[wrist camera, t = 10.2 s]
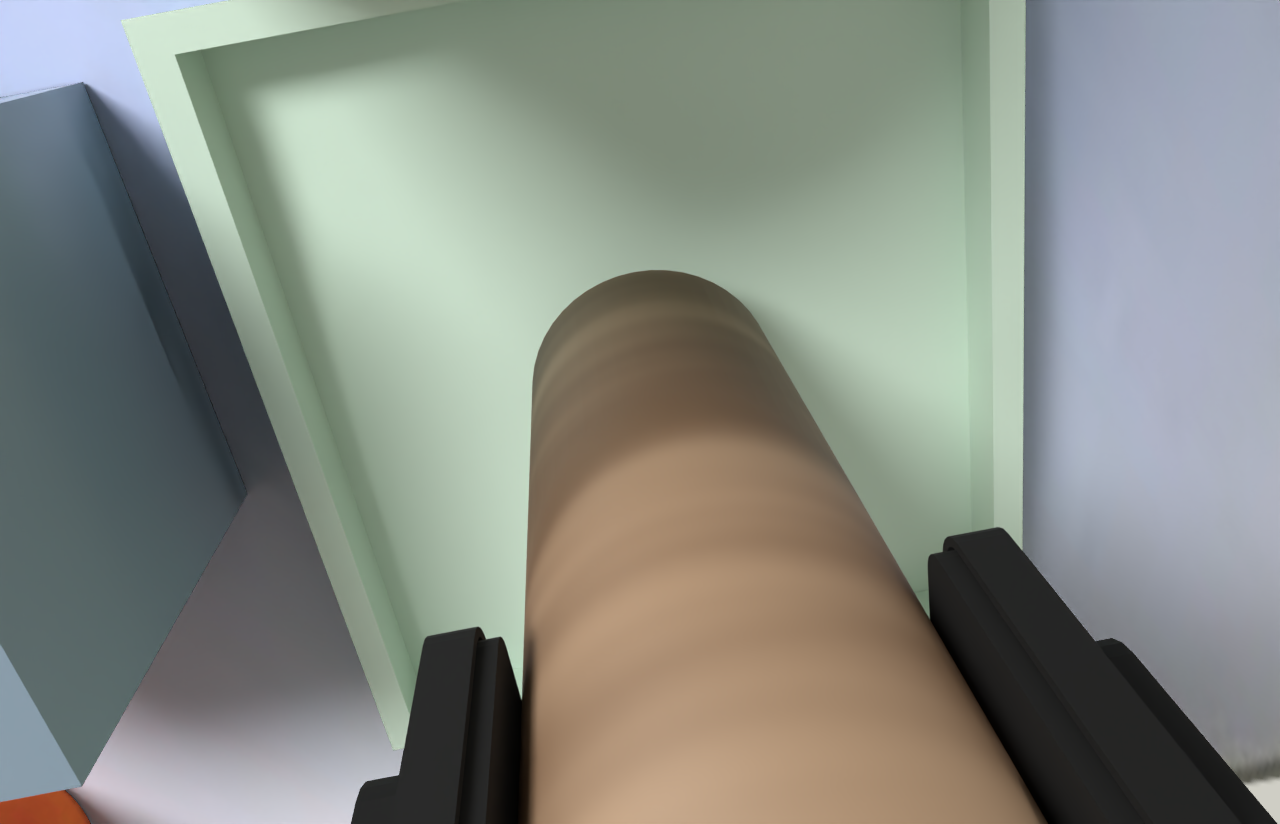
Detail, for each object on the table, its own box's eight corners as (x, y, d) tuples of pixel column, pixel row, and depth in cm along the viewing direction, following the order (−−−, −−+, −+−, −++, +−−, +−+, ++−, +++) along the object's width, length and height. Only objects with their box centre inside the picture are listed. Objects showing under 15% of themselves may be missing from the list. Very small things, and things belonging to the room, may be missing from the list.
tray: (167, 14, 16) (120, 20, 15) (974, -136, 17) (1026, -149, 15) (405, 688, 23) (393, 750, 21) (984, 577, 23) (1021, 630, 21)
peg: (508, 295, 17) (415, 1104, 5) (758, 248, 17) (1265, 939, 5) (559, 511, 19) (581, 1463, 7) (784, 468, 19) (1192, 1341, 7)
